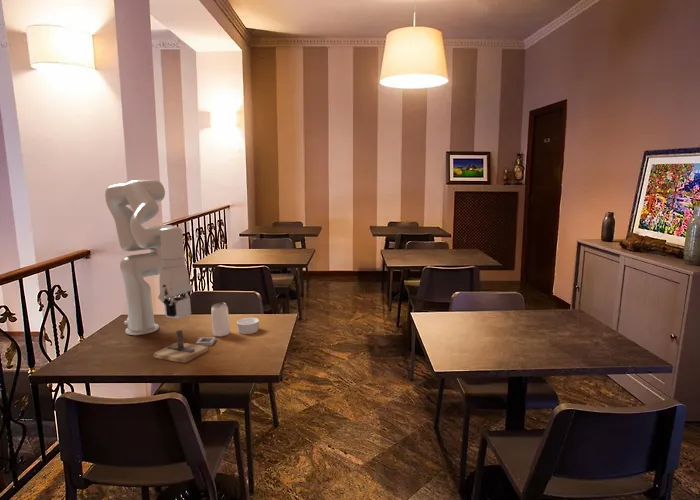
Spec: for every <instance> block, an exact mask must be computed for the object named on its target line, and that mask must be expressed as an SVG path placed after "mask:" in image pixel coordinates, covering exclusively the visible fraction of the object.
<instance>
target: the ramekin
mask: <svg viewBox="0 0 700 500" xmlns="http://www.w3.org/2000/svg"><path fill="white" fill-rule="evenodd" d="M259 323H260V320H259V319H258V318H257V317H244V318H239V319H238V320H236V324H237V331H238V333H239V334H242V335H251V334H254V333H255V334H256V333H257V332H258V331H259Z"/></svg>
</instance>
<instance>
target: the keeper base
mask: <svg viewBox="0 0 700 500" xmlns="http://www.w3.org/2000/svg"><path fill="white" fill-rule="evenodd" d="M175 333H176V342H175V343H172V344H170V345H168V346H166V347H164V348H162V349H160V350H157V351H155V352H153V354H152V355H153V358H155V359H160V360H165V361H166V360H167V361H171V362H176V363H182V364H185V363H187V362H190V361H191V360H193V359H196V358H197V357H199V356H201V355H202V354H205V353H206V352H208V351H209V346H201V345H196V343H195V344H194V343H187V342H184V335H183V333H184V332H183V330H181V329H179V330H178V329H177V330H176V332H175Z"/></svg>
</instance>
